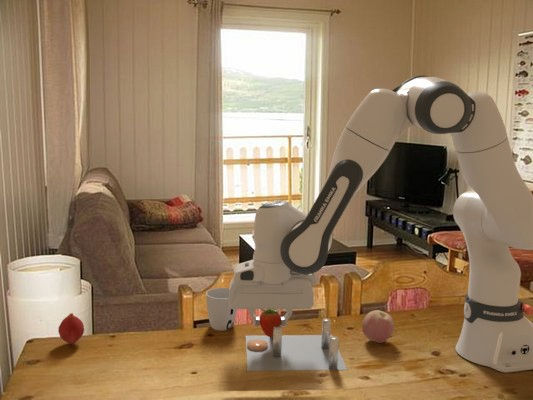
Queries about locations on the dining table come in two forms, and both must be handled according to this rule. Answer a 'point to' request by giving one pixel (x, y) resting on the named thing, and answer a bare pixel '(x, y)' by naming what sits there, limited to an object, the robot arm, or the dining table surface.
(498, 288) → the robot arm
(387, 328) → the apple
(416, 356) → the dining table surface
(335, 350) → the posts
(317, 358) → the board
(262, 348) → the pad
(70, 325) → the onion
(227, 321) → the cup
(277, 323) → the fruit
